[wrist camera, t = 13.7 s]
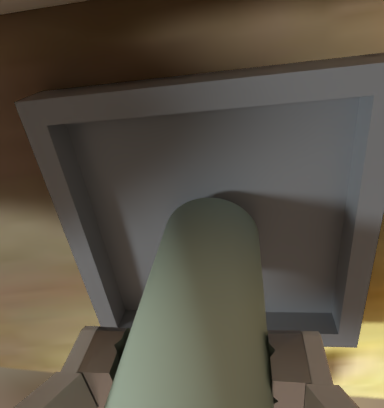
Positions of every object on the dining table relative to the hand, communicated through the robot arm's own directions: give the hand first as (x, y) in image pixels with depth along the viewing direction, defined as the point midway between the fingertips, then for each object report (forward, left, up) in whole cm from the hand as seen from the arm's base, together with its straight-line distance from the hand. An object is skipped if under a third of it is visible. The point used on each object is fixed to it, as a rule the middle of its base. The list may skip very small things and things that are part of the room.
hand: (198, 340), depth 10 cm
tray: (0, 0, -7) cm, 7 cm away
